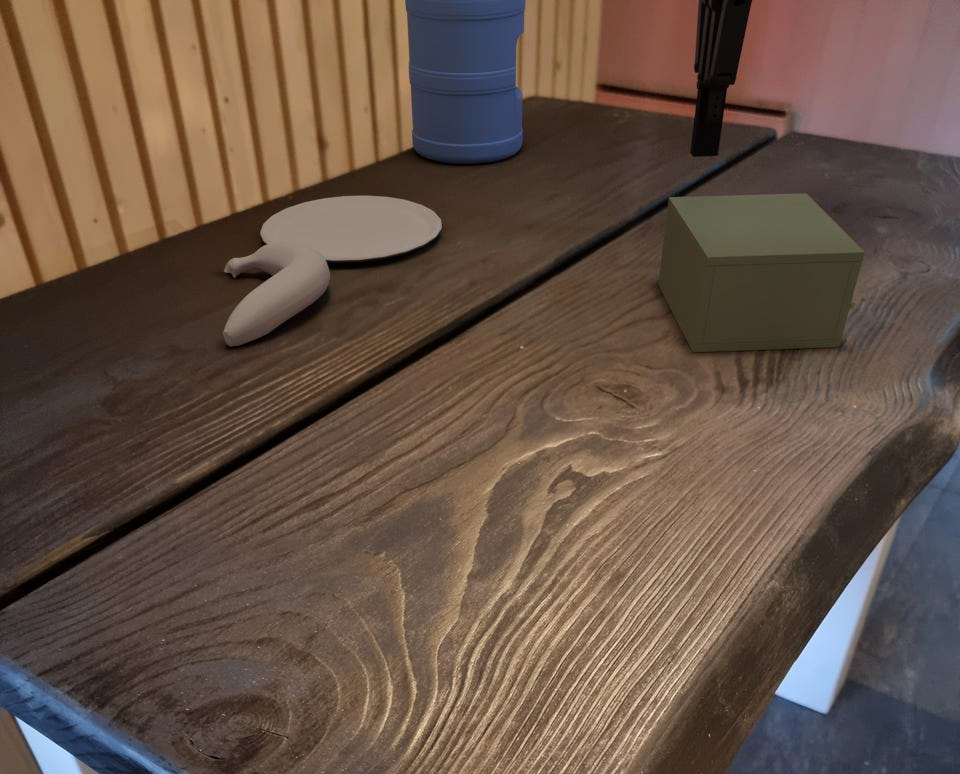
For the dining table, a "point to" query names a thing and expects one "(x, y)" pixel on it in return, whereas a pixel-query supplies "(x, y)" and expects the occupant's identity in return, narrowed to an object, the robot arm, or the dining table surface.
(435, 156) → the water jug
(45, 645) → the dining table surface
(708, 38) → the robot arm
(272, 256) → the banana
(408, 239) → the plate
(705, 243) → the cabinet
